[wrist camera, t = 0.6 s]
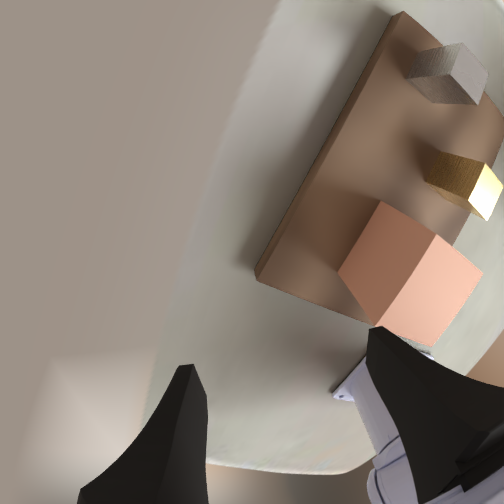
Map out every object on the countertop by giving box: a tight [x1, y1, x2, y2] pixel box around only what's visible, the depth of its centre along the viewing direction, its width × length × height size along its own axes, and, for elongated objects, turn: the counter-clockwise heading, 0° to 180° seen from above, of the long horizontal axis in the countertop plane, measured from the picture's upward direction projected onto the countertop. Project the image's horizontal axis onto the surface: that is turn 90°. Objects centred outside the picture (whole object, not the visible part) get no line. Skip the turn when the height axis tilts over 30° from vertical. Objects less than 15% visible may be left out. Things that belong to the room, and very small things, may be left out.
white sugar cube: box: [405, 43, 489, 105], centre depth 13 cm, size 3×3×4 cm
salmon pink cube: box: [337, 201, 483, 347], centre depth 17 cm, size 6×6×6 cm
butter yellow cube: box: [426, 151, 503, 220], centre depth 15 cm, size 3×3×4 cm
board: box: [254, 11, 504, 326], centre depth 18 cm, size 13×21×2 cm, turn 153°
